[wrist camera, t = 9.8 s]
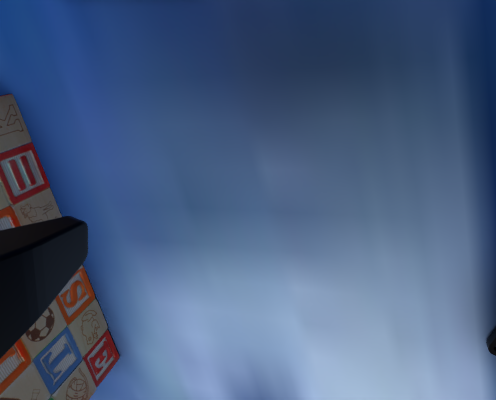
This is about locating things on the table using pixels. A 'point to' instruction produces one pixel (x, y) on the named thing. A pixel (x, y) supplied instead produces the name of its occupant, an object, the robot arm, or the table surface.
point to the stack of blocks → (65, 304)
